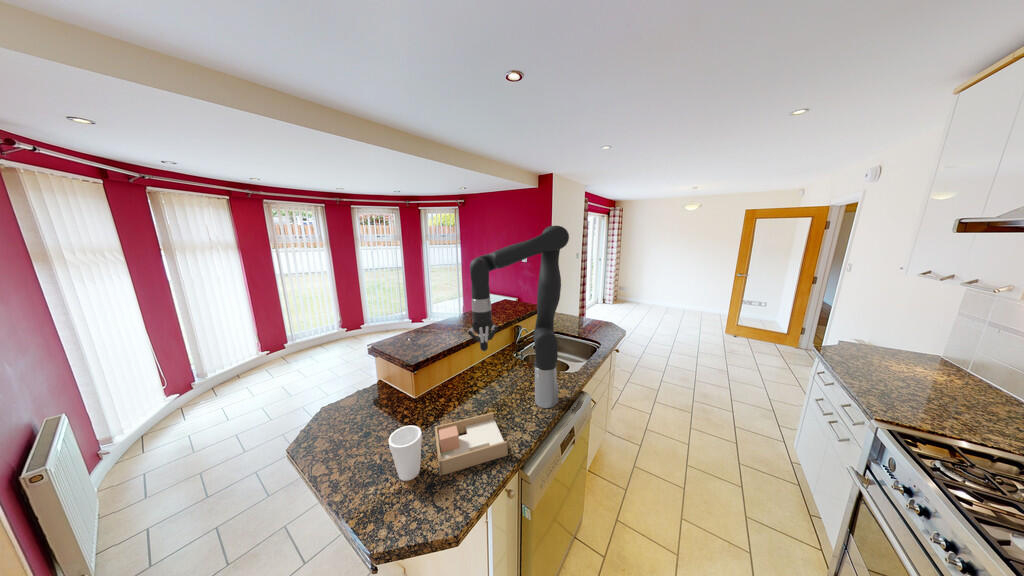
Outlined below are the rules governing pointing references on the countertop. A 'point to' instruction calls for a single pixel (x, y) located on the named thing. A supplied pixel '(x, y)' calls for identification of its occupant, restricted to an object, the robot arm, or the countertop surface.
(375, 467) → the countertop surface
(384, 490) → the countertop surface
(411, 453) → the foam cup
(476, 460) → the box
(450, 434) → the block
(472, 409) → the countertop surface
